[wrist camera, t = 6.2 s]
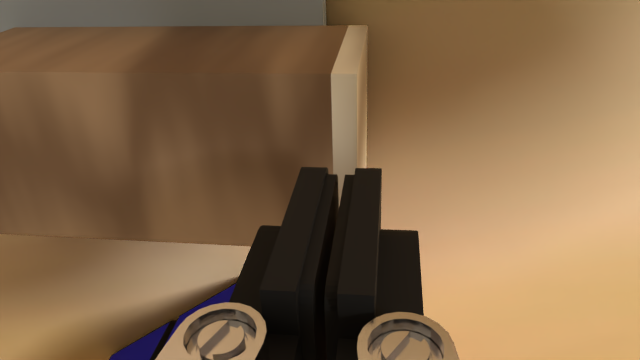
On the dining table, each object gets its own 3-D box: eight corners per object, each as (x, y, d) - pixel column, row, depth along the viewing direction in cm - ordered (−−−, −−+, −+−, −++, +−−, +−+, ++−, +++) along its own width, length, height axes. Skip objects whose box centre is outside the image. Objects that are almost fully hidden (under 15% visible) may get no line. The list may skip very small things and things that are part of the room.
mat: (-71, -87, 17) (-90, -86, 17) (323, -101, 16) (319, -101, 15) (36, 221, 23) (24, 231, 22) (332, 234, 21) (329, 246, 21)
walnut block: (367, 25, 17) (14, 27, 18) (356, 74, 12) (-108, 70, 14) (366, 167, 19) (54, 158, 20) (357, 251, 15) (-38, 231, 16)
